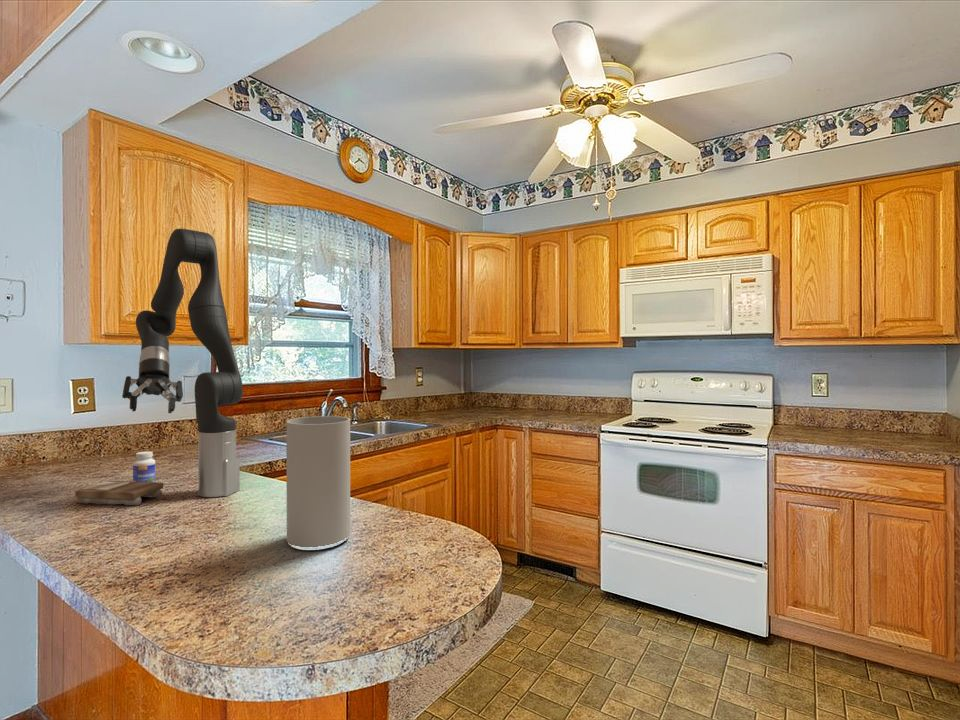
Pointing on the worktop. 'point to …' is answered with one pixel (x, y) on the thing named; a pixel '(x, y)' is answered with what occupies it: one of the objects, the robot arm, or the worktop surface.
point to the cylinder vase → (318, 480)
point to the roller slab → (119, 492)
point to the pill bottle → (144, 467)
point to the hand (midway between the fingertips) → (152, 410)
